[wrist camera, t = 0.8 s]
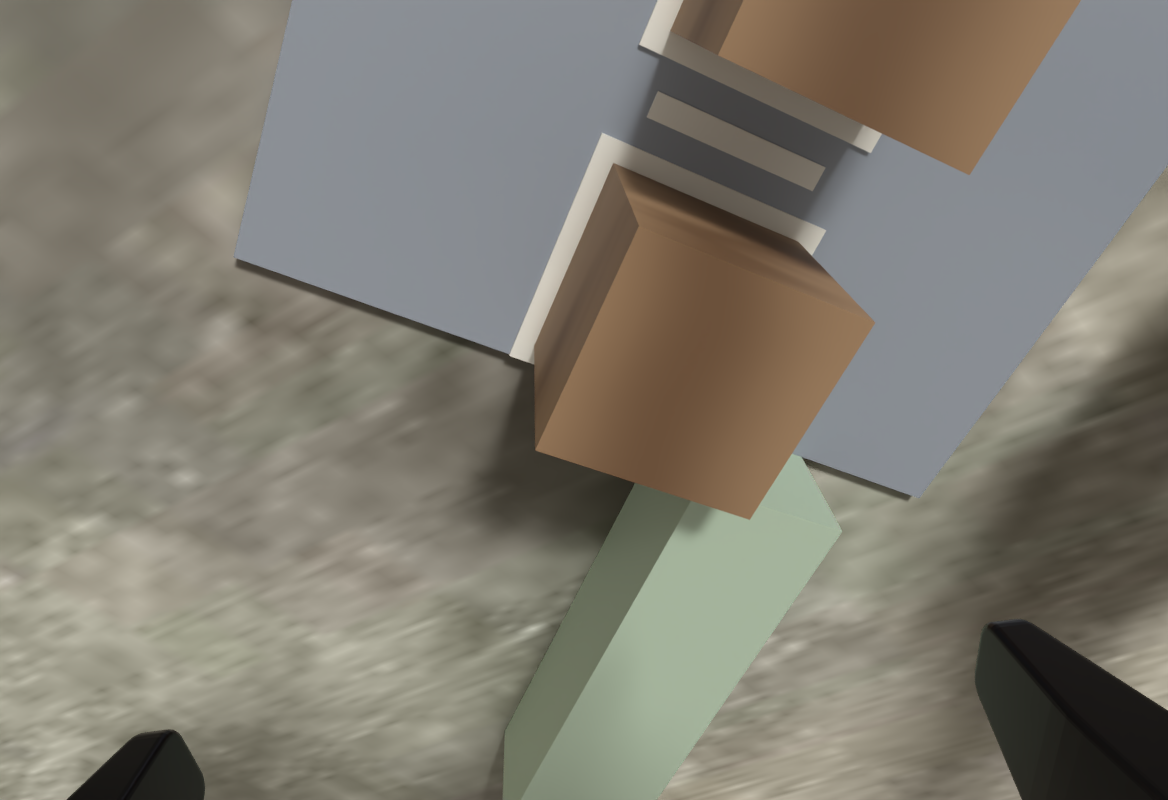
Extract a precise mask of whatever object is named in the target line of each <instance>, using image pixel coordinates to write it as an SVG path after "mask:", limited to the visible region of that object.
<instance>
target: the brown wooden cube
mask: <svg viewBox="0 0 1168 800" xmlns="http://www.w3.org/2000/svg"><path fill="white" fill-rule="evenodd" d="M1080 1H1081V0H683V2H682V5H681V7H680V9H679V12H678V14H677V16H676V19H675V21H674V23H673V26H672V28H671V30H670V31H671V32H673V33H675V34H677V35H679V36H681V37H683V38H685V39H687V40H689V41H691V42H693V43H695V44H697V45H699V46H701V47H703V48H705V49H707V50H709V51H710V52H712V53H714V54H716V55H718V56H720V57H723V58H725V59H727V60H729V61H731V62H733V63H735V64H737V65H739V66H741V67H744V68H746V69H748V70H750V71H752V72H754V73H756V74H758V75H760V76H762V77H764V78H767V79H769V80H771V81H773V82H775V83H777V84H779V85H781V86H783V87H785V88H787V89H790V90H792V91H794V92H796V93H798V94H800V95H802V96H804V97H806V98H808V99H811V100H813V101H815V102H817V103H819V104H821V105H823V106H825V107H827V108H829V109H831V110H834V111H836V112H838V113H840V114H842V115H844V116H846V117H848V118H850V119H852V120H854V121H857V122H859V123H861V124H863V125H865V126H867V127H869V128H871V129H873V130H875V131H877V132H880V133H882V134H884V135H886V136H888V137H890V138H892V139H894V140H896V141H898V142H901V143H903V144H905V145H907V146H909V147H911V148H913V149H915V150H917V151H919V152H921V153H924V154H926V155H928V156H930V157H932V158H934V159H936V160H938V161H940V162H942V163H944V164H947V165H949V166H951V167H953V168H955V169H957V170H959V171H961V172H963V173H965V174H968V175H970V174H971V172H972V171H973V169H974V167H975V166H976V164H977V163H978V161H979V160H980V158H981V156H982V155H983V153H984V152H985V150H986V149H987V147H988V145H989V144H990V142H991V141H992V139H993V138H994V136H995V134H996V133H997V131H998V130H999V128H1000V127H1001V125H1002V123H1003V122H1004V120H1005V119H1006V117H1007V116H1008V114H1009V112H1010V111H1011V109H1012V108H1013V106H1014V105H1015V103H1016V102H1017V100H1018V98H1019V97H1020V95H1021V94H1022V92H1023V91H1024V89H1025V87H1026V86H1027V84H1028V83H1029V81H1030V80H1031V78H1032V76H1033V75H1034V73H1035V72H1036V70H1037V69H1038V67H1039V65H1040V64H1041V62H1042V61H1043V59H1044V58H1045V56H1046V54H1047V53H1048V51H1049V50H1050V48H1051V47H1052V45H1053V43H1054V42H1055V40H1056V39H1057V37H1058V36H1059V34H1060V32H1061V31H1062V29H1063V28H1064V26H1065V25H1066V23H1067V22H1068V20H1069V18H1070V17H1071V15H1072V14H1073V12H1074V11H1075V9H1076V7H1077V6H1078V4H1079V3H1080Z"/></svg>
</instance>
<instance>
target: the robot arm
mask: <svg viewBox="0 0 1168 800" xmlns="http://www.w3.org/2000/svg"><path fill="white" fill-rule="evenodd" d="M975 684H976V689H977V693H978V696H979V698H980V701H981V703H982V706H983V708H984V710H985V713H986V715H987V718H988V720H989V722H990V725H991V727H992V729H993V732H994V734H995V737H996V739H997V741H998V744H999V746H1000V749H1001V751H1002V753H1003V756H1004V758H1005V760H1006V763H1007V765H1008V768H1009V770H1010V772H1011V775H1012V777H1013V780H1014V782H1015V784H1016V787H1017V789H1018V792H1019V794H1020V796H1021V799H1022V800H1168V710H1166V709H1165V708H1163V707H1161V706H1160V705H1158V704H1157V703H1155V702H1154V701H1152V700H1151V699H1149V698H1147V697H1146V696H1144V695H1143V694H1141V693H1140V692H1138V691H1137V690H1135V689H1133V688H1132V687H1130V686H1129V685H1127V684H1126V683H1124V682H1123V681H1121V680H1119V679H1118V678H1116V677H1115V676H1113V675H1112V674H1110V673H1109V672H1107V671H1105V670H1104V669H1102V668H1101V667H1099V666H1098V665H1096V664H1095V663H1093V662H1091V661H1090V660H1088V659H1087V658H1085V657H1084V656H1082V655H1081V654H1079V653H1077V652H1076V651H1074V650H1073V649H1071V648H1070V647H1068V646H1066V645H1065V644H1063V643H1062V642H1060V641H1059V640H1057V639H1056V638H1054V637H1052V636H1051V635H1049V634H1048V633H1046V632H1045V631H1043V630H1042V629H1040V628H1038V627H1037V626H1035V625H1034V624H1032V623H1030V622H1028V621H1026V620H1023V619H1012V620H1004V621H997V622H990V623H988V624H986V625H985V626H984V628H983V629H982V633H981V638H980V644H979V650H978V656H977V663H976V669H975ZM204 793H205V784H204V778H203V774H202V772H201V770H200V768H199V766H198V765H197V763H196V761H195V759H194V758H193V756H192V754H191V752H190V751H189V749H188V747H187V745H186V743H185V742H184V740H183V738H182V736H181V735H180V734H179V733H178V732H176V731H174V730H169V729H168V730H161V731H153V732H145V733H141V734H138V735H136V736H134V737H133V738H131V739H130V740H129V741H128V742H127V743H126V744H125V745H124V746H122V747H121V748H120V749H119V750H118V751H117V752H116V753H115V754H114V755H113V756H112V757H111V758H110V759H109V760H108V761H107V762H106V763H105V764H104V765H102V766H101V767H100V768H99V769H98V770H97V771H96V772H95V773H94V774H93V775H92V776H91V777H90V778H89V779H88V780H87V781H86V782H85V783H84V784H83V785H81V786H80V787H79V788H78V789H77V790H76V791H75V792H74V793H73V794H72V795H71V796H70V797H69V798H68V799H67V800H204Z"/></svg>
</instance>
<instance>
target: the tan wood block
mask: <svg viewBox="0 0 1168 800" xmlns="http://www.w3.org/2000/svg"><path fill="white" fill-rule="evenodd" d="M874 324H875V322H874V321H873V319H872V318H871V317H870V316H869V315H868V314H867V313H866V312H865V311H864V310H863V309H862V308H861V307H860V306H859V305H858V304H857V303H856V302H855V301H854V300H853V298H852V297H851V296H850V295H849V294H848V293H847V292H846V291H845V290H844V289H843V288H842V287H841V286H840V285H839V284H838V283H837V282H836V281H835V280H834V279H833V277H832V276H831V275H830V274H829V273H828V272H827V271H826V270H825V269H824V268H823V267H822V266H821V265H820V264H819V263H818V262H817V261H816V260H815V259H814V258H813V256H812V255H811V254H810V253H809V252H808V251H807V250H806V249H805V248H804V247H803V246H802V245H801V244H800V243H799V242H798V241H796V240H793V239H791V238H789V237H786V236H784V235H782V234H779V233H777V232H775V231H772V230H770V229H767V228H765V227H763V226H760V225H758V224H756V223H753V222H751V221H749V220H746V219H744V218H742V217H739V216H737V215H735V214H732V213H730V212H728V211H725V210H723V209H721V208H718V207H716V206H714V205H711V204H709V203H706V202H704V201H702V200H699V199H697V198H695V197H692V196H690V195H688V194H685V193H683V192H681V191H678V190H676V189H674V188H671V187H669V186H667V185H664V184H662V183H660V182H657V181H655V180H653V179H650V178H648V177H645V176H643V175H641V174H638V173H636V172H634V171H631V170H629V169H627V168H624V167H622V166H620V165H617V164H615V163H613V165H612V167H611V169H610V171H609V174H608V176H607V178H606V181H605V183H604V185H603V188H602V190H601V192H600V195H599V197H598V199H597V202H596V204H595V206H594V209H593V211H592V213H591V215H590V218H589V220H588V222H587V225H586V227H585V229H584V232H583V234H582V236H581V239H580V241H579V243H578V246H577V248H576V250H575V253H574V255H573V257H572V259H571V262H570V264H569V266H568V269H567V271H566V273H565V276H564V278H563V280H562V283H561V285H560V287H559V290H558V292H557V294H556V297H555V299H554V301H553V304H552V306H551V308H550V310H549V313H548V315H547V317H546V320H545V322H544V324H543V327H542V329H541V331H540V334H539V336H538V338H537V341H536V343H535V345H534V380H535V451H539V452H542V453H545V454H548V455H551V456H554V457H557V458H560V459H563V460H566V461H569V462H572V463H576V464H579V465H582V466H585V467H588V468H591V469H594V470H597V471H600V472H603V473H606V474H610V475H613V476H616V477H619V478H622V479H625V480H628V481H631V482H634V483H637V484H640V485H643V486H647V487H650V488H653V489H656V490H659V491H662V492H665V493H668V494H671V495H674V496H677V497H681V498H684V499H687V500H690V501H693V502H696V503H699V504H702V505H705V506H708V507H711V508H714V509H718V510H721V511H724V512H727V513H730V514H733V515H736V516H739V517H742V518H745V519H748V520H750V519H751V517H752V516H753V514H754V512H755V511H756V509H757V508H758V506H759V505H760V503H761V501H762V500H763V498H764V497H765V495H766V494H767V492H768V490H769V489H770V487H771V486H772V484H773V483H774V481H775V479H776V478H777V476H778V475H779V473H780V472H781V470H782V469H783V467H784V465H785V464H786V462H787V461H788V459H789V458H790V456H791V454H792V453H793V451H794V450H795V448H796V447H797V445H798V443H799V442H800V440H801V439H802V437H803V436H804V434H805V432H806V431H807V429H808V428H809V426H810V425H811V423H812V421H813V420H814V418H815V417H816V415H817V414H818V412H819V410H820V409H821V407H822V406H823V404H824V403H825V401H826V400H827V398H828V396H829V395H830V393H831V392H832V390H833V389H834V387H835V385H836V384H837V382H838V381H839V379H840V378H841V376H842V374H843V373H844V371H845V370H846V368H847V367H848V365H849V363H850V362H851V360H852V359H853V357H854V356H855V354H856V352H857V351H858V349H859V348H860V346H861V345H862V343H863V341H864V340H865V338H866V337H867V335H868V334H869V332H870V330H871V329H872V327H873V326H874Z"/></svg>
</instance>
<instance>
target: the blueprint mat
mask: <svg viewBox="0 0 1168 800" xmlns="http://www.w3.org/2000/svg"><path fill="white" fill-rule="evenodd" d="M682 2H683V0H292V4H291V9H290V13H289V17H288V22H287V26H286V30H285V35H284V39H283V44H282V48H281V52H280V57H279V61H278V65H277V70H276V74H275V78H274V83H273V87H272V92H271V96H270V100H269V105H268V109H267V113H266V118H265V122H264V126H263V131H262V135H261V140H260V144H259V148H258V153H257V157H256V161H255V166H254V170H253V174H252V179H251V183H250V188H249V192H248V196H247V201H246V205H245V209H244V214H243V218H242V222H241V227H240V231H239V235H238V240H237V244H236V249H235V253H234V258H237V259H240V260H243V261H246V262H249V263H251V264H254V265H257V266H260V267H263V268H266V269H268V270H271V271H274V272H277V273H280V274H283V275H286V276H288V277H291V278H294V279H297V280H300V281H303V282H305V283H308V284H311V285H314V286H317V287H320V288H322V289H325V290H328V291H331V292H334V293H337V294H340V295H342V296H345V297H348V298H351V299H354V300H357V301H359V302H362V303H365V304H368V305H371V306H374V307H377V308H379V309H382V310H385V311H388V312H391V313H394V314H396V315H399V316H402V317H405V318H408V319H411V320H413V321H416V322H419V323H422V324H425V325H428V326H431V327H433V328H436V329H439V330H442V331H445V332H448V333H450V334H453V335H456V336H459V337H462V338H465V339H467V340H470V341H473V342H476V343H479V344H482V345H485V346H487V347H490V348H493V349H496V350H499V351H502V352H504V353H507V354H509V356H511V357H514V358H517V359H520V360H522V361H525V362H528V363H531V364H534V345H535V343H536V341H537V338H538V336H539V334H540V331H541V329H542V327H543V324H544V322H545V320H546V317H547V315H548V313H549V310H550V308H551V306H552V304H553V301H554V299H555V297H556V294H557V292H558V290H559V287H560V285H561V283H562V280H563V278H564V276H565V273H566V271H567V269H568V266H569V264H570V262H571V259H572V257H573V255H574V253H575V250H576V248H577V246H578V243H579V241H580V239H581V236H582V234H583V232H584V229H585V227H586V225H587V222H588V220H589V218H590V215H591V213H592V211H593V209H594V206H595V204H596V202H597V199H598V197H599V195H600V192H601V190H602V188H603V185H604V183H605V181H606V178H607V176H608V174H609V171H610V169H611V167H612V165H613V163H615V164H617V165H620V166H622V167H624V168H627V169H629V170H631V171H634V172H636V173H638V174H641V175H643V176H645V177H648V178H650V179H653V180H655V181H657V182H660V183H662V184H664V185H667V186H669V187H671V188H674V189H676V190H678V191H681V192H683V193H685V194H688V195H690V196H692V197H695V198H697V199H699V200H702V201H704V202H706V203H709V204H711V205H714V206H716V207H718V208H721V209H723V210H725V211H728V212H730V213H732V214H735V215H737V216H739V217H742V218H744V219H746V220H749V221H751V222H753V223H756V224H758V225H760V226H763V227H765V228H767V229H770V230H772V231H775V232H777V233H779V234H782V235H784V236H786V237H789V238H791V239H793V240H796V241H798V242H799V243H800V244H801V245H802V246H803V247H804V248H805V249H806V250H807V251H808V252H809V253H810V254H811V255H812V256H813V258H814V259H815V260H816V261H817V262H818V263H819V264H820V265H821V266H822V267H823V268H824V269H825V270H826V271H827V272H828V273H829V274H830V275H831V276H832V277H833V279H834V280H835V281H836V282H837V283H838V284H839V285H840V286H841V287H842V288H843V289H844V290H845V291H846V292H847V293H848V294H849V295H850V296H851V297H852V298H853V300H854V301H855V302H856V303H857V304H858V305H859V306H860V307H861V308H862V309H863V310H864V311H865V312H866V313H867V314H868V315H869V316H870V317H871V318H872V319H873V321H874V322H875V324H874V326H873V327H872V329H871V330H870V332H869V334H868V335H867V337H866V338H865V340H864V341H863V343H862V345H861V346H860V348H859V349H858V351H857V352H856V354H855V356H854V357H853V359H852V360H851V362H850V363H849V365H848V367H847V368H846V370H845V371H844V373H843V374H842V376H841V378H840V379H839V381H838V382H837V384H836V385H835V387H834V389H833V390H832V392H831V393H830V395H829V396H828V398H827V400H826V401H825V403H824V404H823V406H822V407H821V409H820V410H819V412H818V414H817V415H816V417H815V418H814V420H813V421H812V423H811V425H810V426H809V428H808V429H807V431H806V432H805V434H804V436H803V437H802V439H801V440H800V442H799V443H798V445H797V447H796V448H795V450H794V451H793V453H792V454H794V455H797V456H800V457H803V458H806V459H809V460H812V461H814V462H817V463H820V464H823V465H826V466H829V467H831V468H834V469H837V470H840V471H843V472H846V473H849V474H851V475H854V476H857V477H860V478H863V479H866V480H868V481H871V482H874V483H877V484H880V485H883V486H885V487H888V488H891V489H894V490H897V491H900V492H903V493H905V494H908V495H911V496H914V497H917V498H920V496H921V495H922V494H923V492H924V491H925V490H926V488H927V487H928V486H929V484H930V483H931V482H932V480H933V479H934V478H935V476H936V475H937V474H938V472H939V471H940V470H941V468H942V467H943V466H944V464H945V463H946V462H947V460H948V459H949V458H950V456H951V455H952V454H953V452H954V451H955V449H956V448H957V447H958V445H959V444H960V443H961V441H962V440H963V439H964V437H965V436H966V435H967V433H968V432H969V431H970V429H971V428H972V427H973V425H974V424H975V423H976V421H977V420H978V419H979V417H980V416H981V415H982V413H983V412H984V411H985V409H986V408H987V407H988V405H989V404H990V403H991V401H992V400H993V399H994V397H995V396H996V395H997V393H998V392H999V391H1000V389H1001V388H1002V387H1003V385H1004V384H1005V382H1006V381H1007V380H1008V378H1009V377H1010V376H1011V374H1012V373H1013V372H1014V370H1015V369H1016V368H1017V366H1018V365H1019V364H1020V362H1021V361H1022V360H1023V358H1024V357H1025V356H1026V354H1027V353H1028V352H1029V350H1030V349H1031V348H1032V346H1033V345H1034V344H1035V342H1036V341H1037V340H1038V338H1039V337H1040V336H1041V334H1042V333H1043V332H1044V330H1045V329H1046V328H1047V326H1048V325H1049V324H1050V322H1051V321H1052V319H1053V318H1054V317H1055V315H1056V314H1057V313H1058V311H1059V310H1060V309H1061V307H1062V306H1063V305H1064V303H1065V302H1066V301H1067V299H1068V298H1069V297H1070V295H1071V294H1072V293H1073V291H1074V290H1075V289H1076V287H1077V286H1078V285H1079V283H1080V282H1081V281H1082V279H1083V278H1084V277H1085V275H1086V274H1087V273H1088V271H1089V270H1090V269H1091V267H1092V266H1093V265H1094V263H1095V262H1096V261H1097V259H1098V258H1099V256H1100V255H1101V254H1102V252H1103V251H1104V250H1105V248H1106V247H1107V246H1108V244H1109V243H1110V242H1111V240H1112V239H1113V238H1114V236H1115V235H1116V234H1117V232H1118V231H1119V230H1120V228H1121V227H1122V226H1123V224H1124V223H1125V222H1126V220H1127V219H1128V218H1129V216H1130V215H1131V214H1132V212H1133V211H1134V210H1135V208H1136V207H1137V206H1138V204H1139V203H1140V202H1141V200H1142V199H1143V198H1144V196H1145V195H1146V194H1147V192H1148V191H1149V189H1150V188H1151V187H1152V185H1153V184H1154V183H1155V181H1156V180H1157V179H1158V177H1159V176H1160V175H1161V173H1162V172H1163V171H1164V169H1165V168H1166V167H1167V165H1168V0H1081V1H1080V3H1079V4H1078V6H1077V7H1076V9H1075V11H1074V12H1073V14H1072V15H1071V17H1070V18H1069V20H1068V22H1067V23H1066V25H1065V26H1064V28H1063V29H1062V31H1061V32H1060V34H1059V36H1058V37H1057V39H1056V40H1055V42H1054V43H1053V45H1052V47H1051V48H1050V50H1049V51H1048V53H1047V54H1046V56H1045V58H1044V59H1043V61H1042V62H1041V64H1040V65H1039V67H1038V69H1037V70H1036V72H1035V73H1034V75H1033V76H1032V78H1031V80H1030V81H1029V83H1028V84H1027V86H1026V87H1025V89H1024V91H1023V92H1022V94H1021V95H1020V97H1019V98H1018V100H1017V102H1016V103H1015V105H1014V106H1013V108H1012V109H1011V111H1010V112H1009V114H1008V116H1007V117H1006V119H1005V120H1004V122H1003V123H1002V125H1001V127H1000V128H999V130H998V131H997V133H996V134H995V136H994V138H993V139H992V141H991V142H990V144H989V145H988V147H987V149H986V150H985V152H984V153H983V155H982V156H981V158H980V160H979V161H978V163H977V164H976V166H975V167H974V169H973V171H972V172H971V174H970V175H968V174H965V173H963V172H961V171H959V170H957V169H955V168H953V167H951V166H949V165H947V164H944V163H942V162H940V161H938V160H936V159H934V158H932V157H930V156H928V155H926V154H924V153H921V152H919V151H917V150H915V149H913V148H911V147H909V146H907V145H905V144H903V143H901V142H898V141H896V140H894V139H892V138H890V137H888V136H886V135H884V134H882V133H880V132H877V131H875V130H873V129H871V128H869V127H867V126H865V125H863V124H861V123H859V122H857V121H854V120H852V119H850V118H848V117H846V116H844V115H842V114H840V113H838V112H836V111H834V110H831V109H829V108H827V107H825V106H823V105H821V104H819V103H817V102H815V101H813V100H811V99H808V98H806V97H804V96H802V95H800V94H798V93H796V92H794V91H792V90H790V89H787V88H785V87H783V86H781V85H779V84H777V83H775V82H773V81H771V80H769V79H767V78H764V77H762V76H760V75H758V74H756V73H754V72H752V71H750V70H748V69H746V68H744V67H741V66H739V65H737V64H735V63H733V62H731V61H729V60H727V59H725V58H723V57H720V56H718V55H716V54H714V53H712V52H710V51H709V50H707V49H705V48H703V47H701V46H699V45H697V44H695V43H693V42H691V41H689V40H687V39H685V38H683V37H681V36H679V35H677V34H675V33H673V32H671V31H670V30H671V28H672V26H673V23H674V21H675V19H676V16H677V14H678V12H679V9H680V7H681V5H682Z"/></svg>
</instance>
